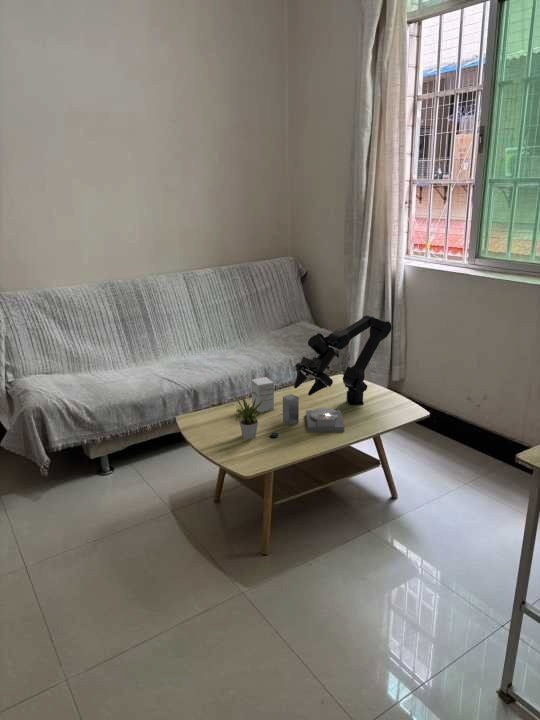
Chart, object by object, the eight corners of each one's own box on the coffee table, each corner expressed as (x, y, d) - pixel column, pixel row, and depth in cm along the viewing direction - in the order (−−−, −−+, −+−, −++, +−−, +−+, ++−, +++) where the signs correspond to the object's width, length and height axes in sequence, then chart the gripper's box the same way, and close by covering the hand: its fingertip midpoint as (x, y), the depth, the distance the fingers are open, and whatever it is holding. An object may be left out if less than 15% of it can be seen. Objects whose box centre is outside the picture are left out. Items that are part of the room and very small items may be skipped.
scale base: (339, 414, 231) (340, 402, 229) (344, 431, 216) (344, 419, 214) (306, 414, 231) (306, 402, 230) (308, 432, 216) (308, 419, 214)
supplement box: (251, 406, 240) (250, 379, 236) (267, 403, 243) (266, 376, 239) (258, 413, 234) (257, 385, 230) (274, 409, 237) (274, 382, 232)
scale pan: (336, 410, 230) (336, 407, 230) (339, 422, 220) (339, 419, 219) (309, 410, 230) (309, 408, 230) (311, 422, 220) (311, 419, 219)
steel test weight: (291, 418, 228) (291, 393, 224) (298, 422, 224) (298, 397, 221) (282, 421, 225) (282, 396, 222) (289, 425, 222) (289, 400, 218)
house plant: (220, 439, 211) (218, 399, 206) (238, 425, 223) (237, 387, 217) (253, 447, 205) (251, 406, 200) (270, 432, 216) (269, 393, 211)
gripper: (298, 343, 229) (276, 374, 226) (327, 355, 214) (304, 388, 212) (313, 358, 235) (292, 388, 233) (342, 370, 221) (320, 402, 218)
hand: (301, 391), depth 224 cm, fingers open, 9 cm apart
